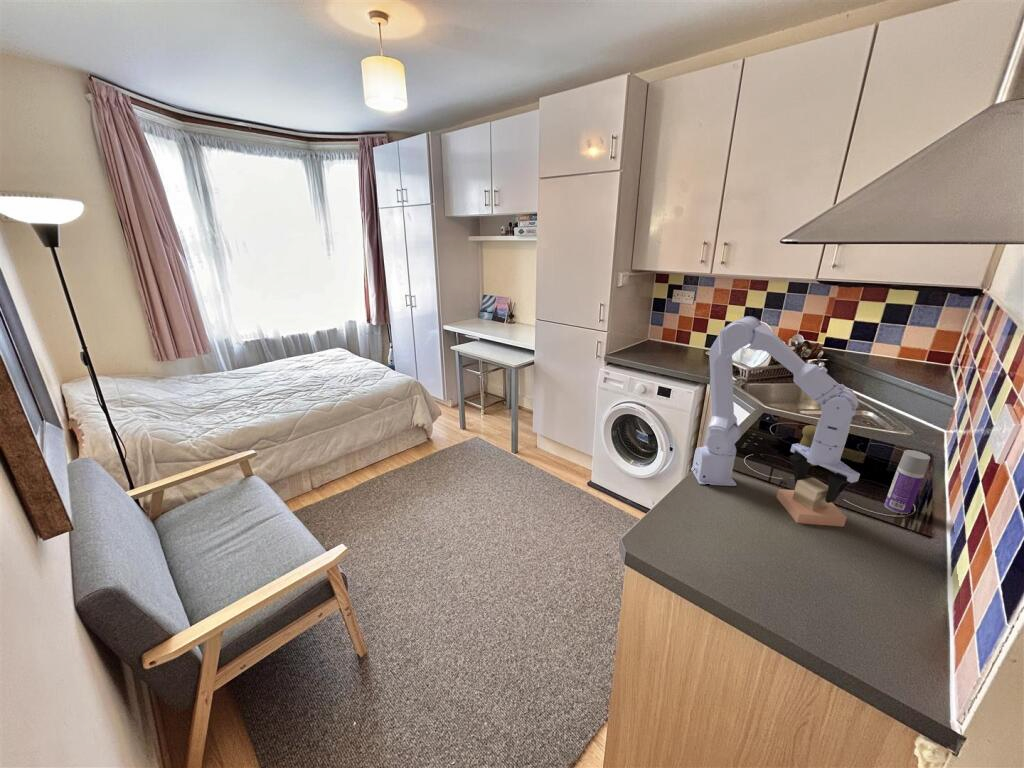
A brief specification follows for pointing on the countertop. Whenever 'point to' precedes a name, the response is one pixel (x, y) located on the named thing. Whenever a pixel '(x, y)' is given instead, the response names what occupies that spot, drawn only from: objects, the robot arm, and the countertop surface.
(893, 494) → the container
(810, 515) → the terracotta block
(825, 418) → the robot arm
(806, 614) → the countertop surface
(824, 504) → the beech cube
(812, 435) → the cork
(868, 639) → the countertop surface
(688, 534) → the countertop surface
